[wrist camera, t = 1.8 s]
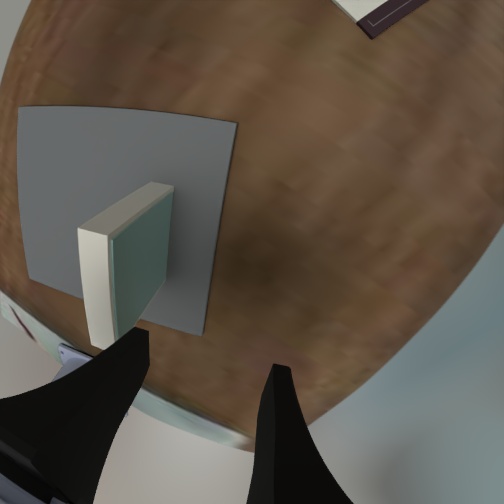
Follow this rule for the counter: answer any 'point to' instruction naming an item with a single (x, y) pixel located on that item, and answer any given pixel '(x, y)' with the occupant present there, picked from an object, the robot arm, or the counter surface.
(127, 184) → the mat
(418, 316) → the counter surface
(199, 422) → the counter surface
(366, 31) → the chocolate bar
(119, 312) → the tile
